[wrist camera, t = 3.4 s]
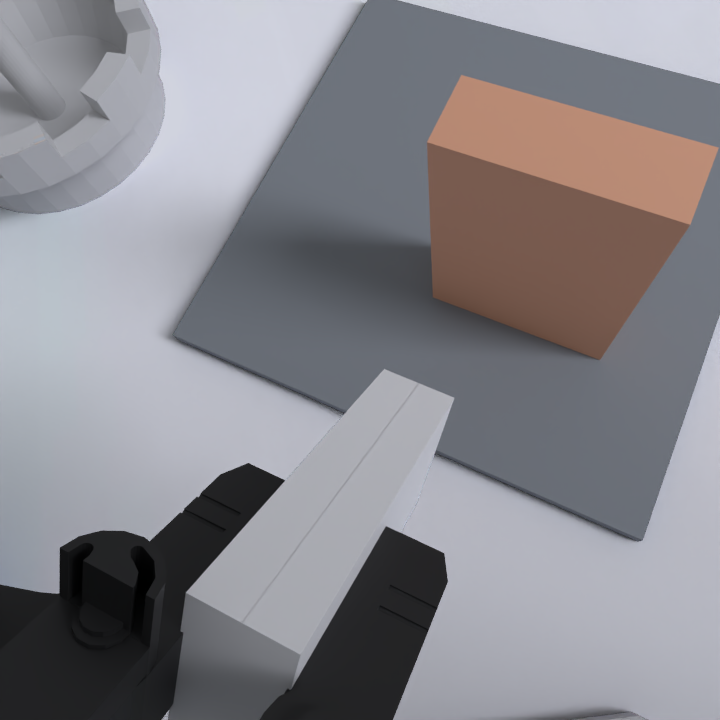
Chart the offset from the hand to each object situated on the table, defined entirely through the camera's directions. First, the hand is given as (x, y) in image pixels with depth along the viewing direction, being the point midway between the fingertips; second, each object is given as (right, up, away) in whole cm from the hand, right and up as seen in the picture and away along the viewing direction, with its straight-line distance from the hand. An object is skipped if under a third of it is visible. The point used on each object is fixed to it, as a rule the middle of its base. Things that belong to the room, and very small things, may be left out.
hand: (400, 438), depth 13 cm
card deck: (+6, +4, +13) cm, 15 cm away
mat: (+4, +7, +15) cm, 18 cm away
